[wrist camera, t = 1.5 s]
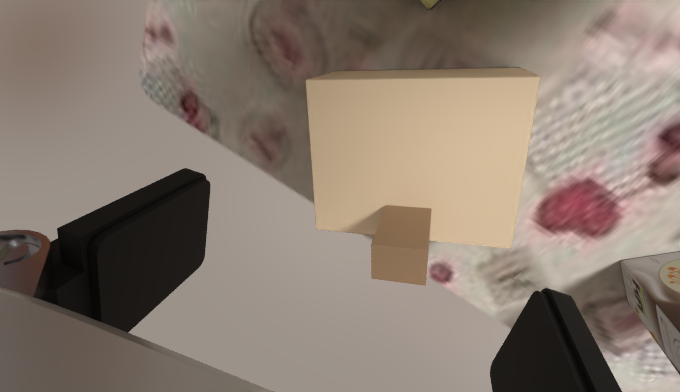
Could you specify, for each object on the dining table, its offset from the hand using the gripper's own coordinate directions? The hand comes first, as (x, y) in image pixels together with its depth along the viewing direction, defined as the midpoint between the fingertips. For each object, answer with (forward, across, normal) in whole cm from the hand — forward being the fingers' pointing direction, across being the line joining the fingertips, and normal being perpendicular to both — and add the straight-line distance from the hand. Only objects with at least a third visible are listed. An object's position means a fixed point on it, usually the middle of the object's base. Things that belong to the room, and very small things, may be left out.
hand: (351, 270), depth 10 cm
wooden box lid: (+22, -1, +3) cm, 22 cm away
